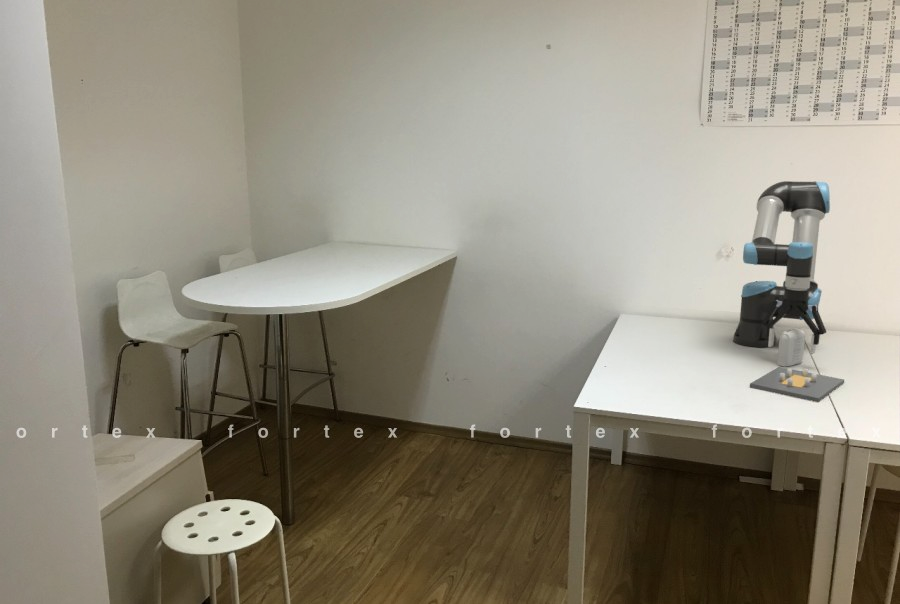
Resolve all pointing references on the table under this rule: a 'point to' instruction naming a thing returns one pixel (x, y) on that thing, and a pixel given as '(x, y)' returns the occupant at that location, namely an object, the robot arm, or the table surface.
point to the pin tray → (797, 383)
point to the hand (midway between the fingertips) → (791, 349)
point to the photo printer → (791, 347)
